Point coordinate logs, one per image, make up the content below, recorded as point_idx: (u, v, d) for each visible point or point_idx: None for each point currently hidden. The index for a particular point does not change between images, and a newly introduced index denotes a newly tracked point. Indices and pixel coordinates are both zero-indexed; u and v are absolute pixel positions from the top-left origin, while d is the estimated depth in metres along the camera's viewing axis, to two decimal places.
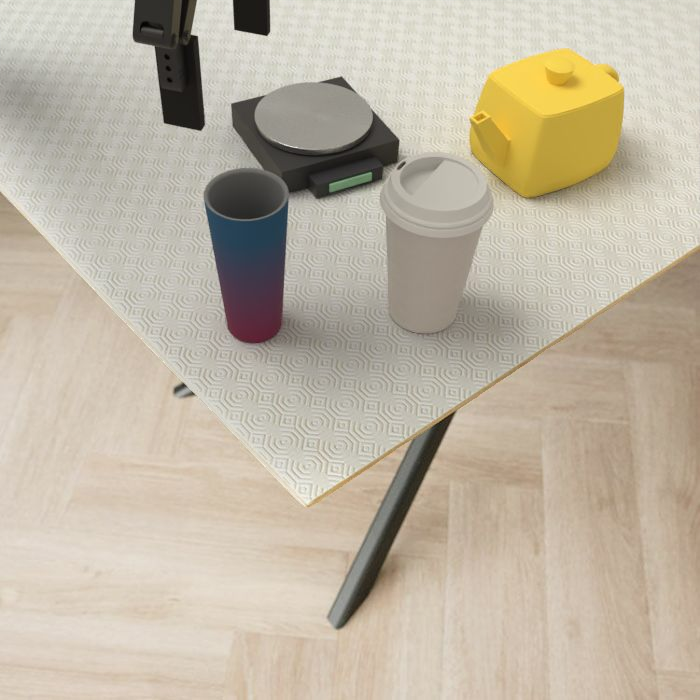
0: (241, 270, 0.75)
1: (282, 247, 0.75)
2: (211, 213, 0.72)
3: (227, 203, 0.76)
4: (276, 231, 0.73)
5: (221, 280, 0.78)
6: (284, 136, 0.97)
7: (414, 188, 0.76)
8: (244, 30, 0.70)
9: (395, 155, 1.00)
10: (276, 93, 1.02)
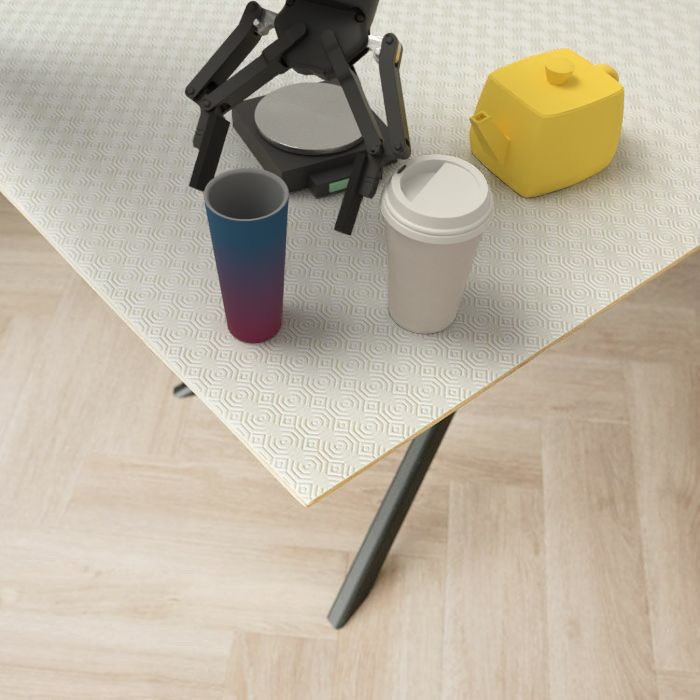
0: (241, 270, 0.75)
1: (282, 247, 0.75)
2: (211, 213, 0.72)
3: (227, 203, 0.76)
4: (276, 231, 0.73)
5: (221, 280, 0.78)
6: (284, 136, 0.97)
7: (414, 192, 0.75)
8: (200, 188, 0.78)
9: None
10: (276, 93, 1.02)
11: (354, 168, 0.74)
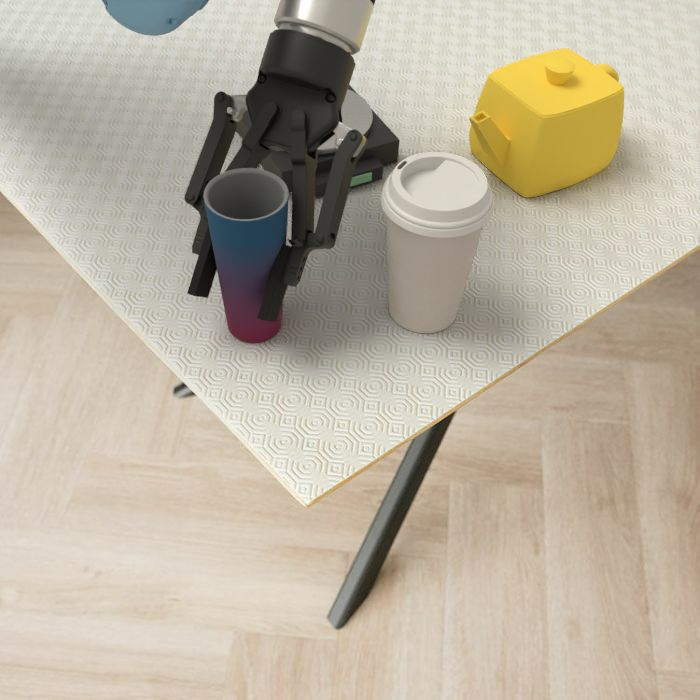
0: (241, 270, 0.75)
1: None
2: (211, 213, 0.72)
3: (227, 203, 0.76)
4: (276, 231, 0.73)
5: (221, 280, 0.78)
6: None
7: (415, 188, 0.76)
8: (199, 295, 0.78)
9: (395, 155, 1.00)
10: None
11: (277, 258, 0.75)
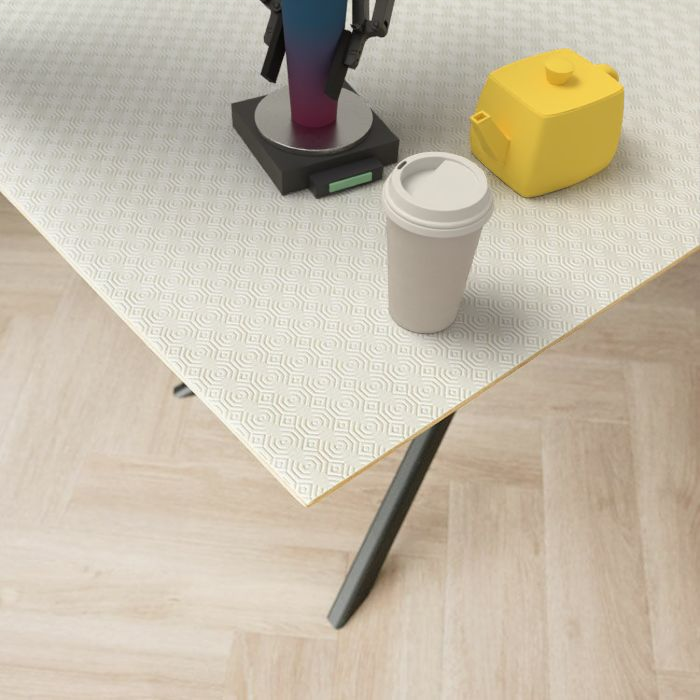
0: (308, 50, 0.91)
1: None
2: None
3: None
4: (339, 13, 0.89)
5: (290, 65, 0.94)
6: (284, 137, 0.97)
7: (415, 188, 0.76)
8: (269, 77, 0.94)
9: (395, 155, 1.00)
10: (276, 94, 1.03)
11: (341, 42, 0.91)
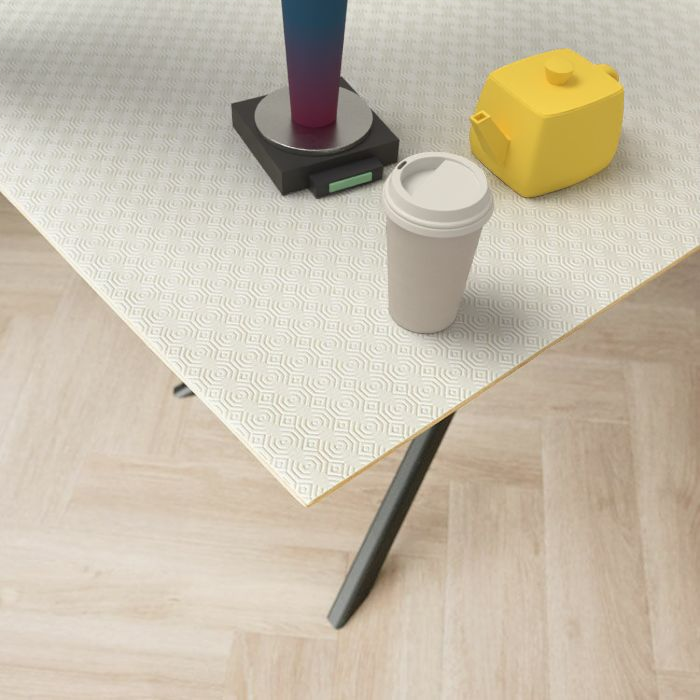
0: (308, 50, 0.91)
1: (342, 33, 0.92)
2: None
3: None
4: (339, 13, 0.89)
5: (290, 65, 0.94)
6: (284, 137, 0.97)
7: (415, 188, 0.76)
8: None
9: (395, 155, 1.00)
10: (276, 94, 1.03)
11: None
